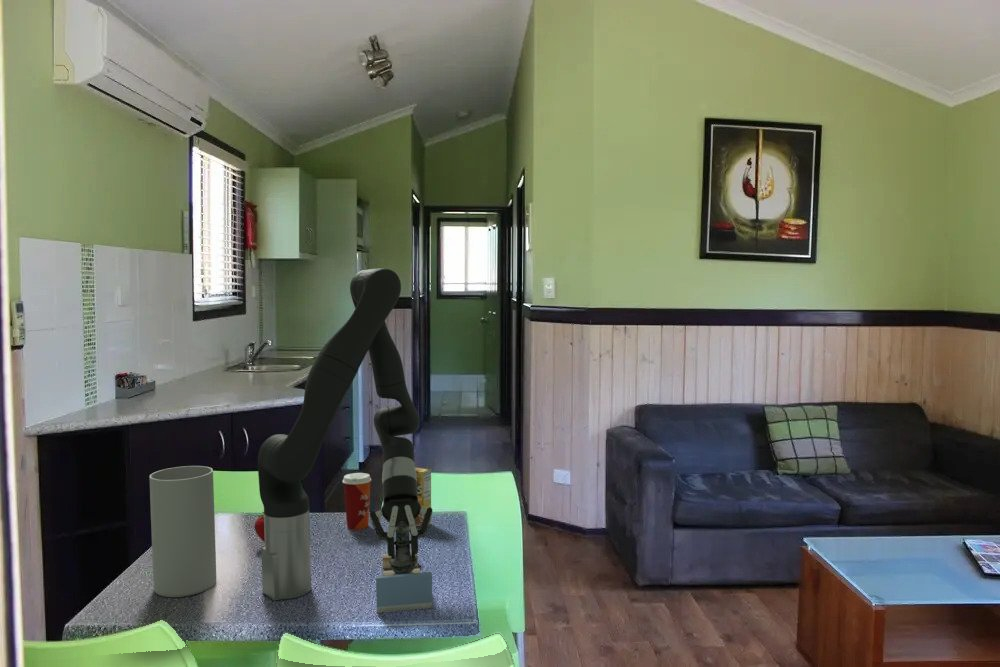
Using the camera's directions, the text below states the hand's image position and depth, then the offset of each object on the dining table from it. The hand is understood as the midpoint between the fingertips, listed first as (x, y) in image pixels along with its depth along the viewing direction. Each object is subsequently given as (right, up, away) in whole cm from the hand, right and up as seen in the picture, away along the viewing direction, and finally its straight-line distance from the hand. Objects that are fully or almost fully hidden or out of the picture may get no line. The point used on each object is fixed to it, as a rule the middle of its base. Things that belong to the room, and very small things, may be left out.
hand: (403, 556), depth 149 cm
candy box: (-4, -6, +50) cm, 50 cm away
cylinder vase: (-48, -9, +8) cm, 50 cm away
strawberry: (-38, -8, +34) cm, 52 cm away
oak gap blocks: (-2, -8, +14) cm, 17 cm away
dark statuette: (0, -5, +2) cm, 6 cm away
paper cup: (-19, -7, +47) cm, 51 cm away
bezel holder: (0, -9, 0) cm, 9 cm away
